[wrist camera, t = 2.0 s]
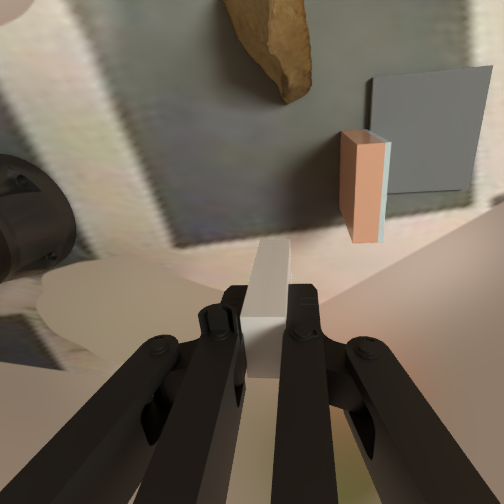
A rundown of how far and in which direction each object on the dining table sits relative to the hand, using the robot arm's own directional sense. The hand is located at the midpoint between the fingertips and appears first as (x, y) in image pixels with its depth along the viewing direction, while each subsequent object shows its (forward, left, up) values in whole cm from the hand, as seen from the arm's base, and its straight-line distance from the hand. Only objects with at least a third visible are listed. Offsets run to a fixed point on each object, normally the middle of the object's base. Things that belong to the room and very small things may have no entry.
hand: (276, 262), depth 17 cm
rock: (-1, +12, -21) cm, 24 cm away
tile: (+7, 0, -21) cm, 22 cm away
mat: (+13, +3, -21) cm, 25 cm away
